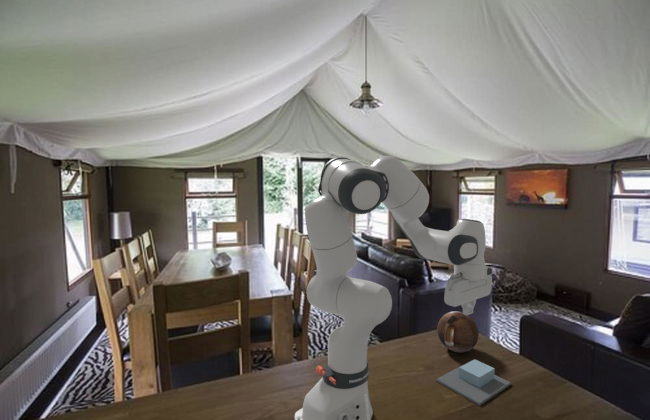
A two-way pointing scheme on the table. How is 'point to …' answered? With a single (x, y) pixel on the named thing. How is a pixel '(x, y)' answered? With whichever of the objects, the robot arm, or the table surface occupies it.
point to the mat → (473, 387)
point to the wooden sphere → (457, 332)
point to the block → (476, 373)
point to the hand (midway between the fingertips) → (468, 313)
